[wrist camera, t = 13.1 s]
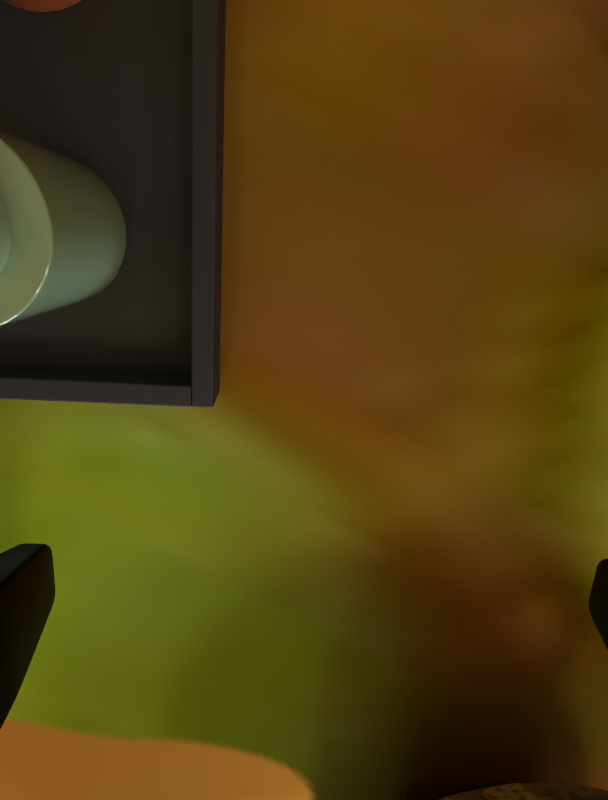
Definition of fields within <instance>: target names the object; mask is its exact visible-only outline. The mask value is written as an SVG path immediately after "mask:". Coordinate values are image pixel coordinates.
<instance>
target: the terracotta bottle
mask: <svg viewBox="0 0 608 800" xmlns="http://www.w3.org/2000/svg"><path fill="white" fill-rule="evenodd" d="M2 1H4V2H6V3H8V4H10V5H12V6H14V7H17V8H20V9H24V10H28V11H34V12H52V11H58V10H62V9H65V8H68V7H70V6H72V5H74V4H76V3H78V2H79V1H81V0H2Z"/></svg>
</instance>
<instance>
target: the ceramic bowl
mask: <svg viewBox="0 0 608 800" xmlns="http://www.w3.org/2000/svg"><path fill="white" fill-rule="evenodd" d="M437 800H608V791H606V790H602V789H597V788H593V787H586V786H578V785H570V784H563V783H511V784H505V785H499V786H493V787H487V788H482V789H477V790H473V791H468V792H462V793H457V794H453V795H449V796H446V797H443V798H440V799H437Z"/></svg>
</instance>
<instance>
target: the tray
mask: <svg viewBox="0 0 608 800" xmlns="http://www.w3.org/2000/svg"><path fill="white" fill-rule="evenodd" d="M225 13H226V0H81V1H79V2H78V3H76V4H74V5H72V6H70V7H68V8H65V9H62V10H58V11H52V12H34V11H28V10H24V9H20V8H17V7H14V6H12V5H10V4H8V3H6V2H4V1H2V0H0V131H2V132H5V133H8V134H10V135H13V136H15V137H18V138H20V139H23V140H25V141H28V142H31V143H33V144H36V145H38V146H41V147H43V148H46V149H48V150H51V151H54V152H56V153H59V154H61V155H64V156H66V157H69V158H71V159H73V160H76V161H78V162H80V163H81V164H83V165H85V166H87V167H88V168H89V169H91V170H92V171H93V172H95V173H96V174H97V175H98V176H99V177H100V178H101V179H102V180H103V181H104V182H105V184H106V185H107V186H108V187H109V188H110V190H111V192H112V193H113V195H114V196H115V198H116V200H117V202H118V204H119V206H120V209H121V211H122V214H123V218H124V222H125V227H126V249H125V255H124V258H123V261H122V264H121V266H120V268H119V271H118V273H117V274H116V276H115V277H114V279H113V280H112V281H111V282H110V283H109V284H108V286H107V287H105V288H104V289H103V290H102V291H101V292H99V293H97V294H96V295H94V296H92V297H90V298H88V299H86V300H83V301H80V302H76V303H73V304H70V305H67V306H64V307H61V308H57V309H54V310H51V311H48V312H45V313H42V314H38V315H35V316H32V317H29V318H26V319H23V320H19V321H16V322H13V323H10V324H7V325H4V326H1V327H0V398H2V399H24V400H47V401H69V402H92V403H114V404H137V405H160V406H182V407H190V406H191V405H192V406H193V407H208V408H211V407H213V405H214V403H215V400H216V397H217V395H218V393H219V367H220V308H221V249H222V190H223V131H224V72H225Z"/></svg>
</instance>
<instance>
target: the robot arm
mask: <svg viewBox="0 0 608 800" xmlns="http://www.w3.org/2000/svg"><path fill="white" fill-rule="evenodd" d="M54 597H55V581H54V569H53V558H52V551H51V549H50V547H49V546H48V545H46V544H26V543H24V544H20V545H18V546H15V547H13V548H11V549H9V550H7V551H5V552H3V553H1V554H0V729H1V727H2V725H3V723H4V721H5V719H6V717H7V715H8V713H9V711H10V709H11V707H12V705H13V703H14V701H15V699H16V697H17V694H18V692H19V690H20V687H21V685H22V682H23V680H24V677H25V675H26V672H27V670H28V667H29V665H30V662H31V659H32V657H33V654H34V652H35V649H36V647H37V644H38V642H39V639H40V636H41V634H42V631H43V629H44V626H45V624H46V621H47V618H48V616H49V613H50V611H51V608H52V605H53V602H54ZM589 611H590V614H591V617H592V619H593V621H594V623H595V625H596V627H597V629H598V631H599V633H600V635H601V637H602V639H603V641H604V643H605V645H606V647H607V649H608V559H604V560H602V561H600V563H599V564H598V566H597V569H596V573H595V577H594V581H593V585H592V589H591V593H590V597H589Z"/></svg>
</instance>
